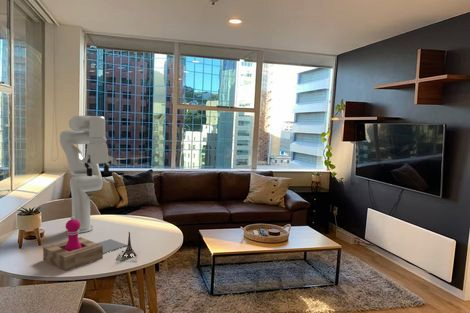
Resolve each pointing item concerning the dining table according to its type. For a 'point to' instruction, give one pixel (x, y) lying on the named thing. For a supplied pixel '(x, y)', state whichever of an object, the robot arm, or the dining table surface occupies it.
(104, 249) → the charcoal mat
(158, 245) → the dining table surface
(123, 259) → the eiffel tower figurine
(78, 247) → the pepper mill
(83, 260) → the walnut pocket holder
